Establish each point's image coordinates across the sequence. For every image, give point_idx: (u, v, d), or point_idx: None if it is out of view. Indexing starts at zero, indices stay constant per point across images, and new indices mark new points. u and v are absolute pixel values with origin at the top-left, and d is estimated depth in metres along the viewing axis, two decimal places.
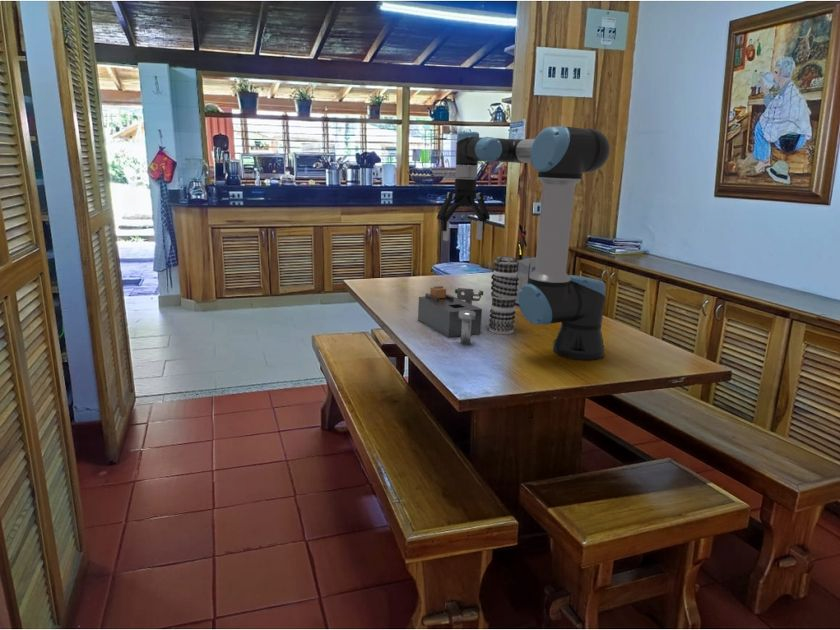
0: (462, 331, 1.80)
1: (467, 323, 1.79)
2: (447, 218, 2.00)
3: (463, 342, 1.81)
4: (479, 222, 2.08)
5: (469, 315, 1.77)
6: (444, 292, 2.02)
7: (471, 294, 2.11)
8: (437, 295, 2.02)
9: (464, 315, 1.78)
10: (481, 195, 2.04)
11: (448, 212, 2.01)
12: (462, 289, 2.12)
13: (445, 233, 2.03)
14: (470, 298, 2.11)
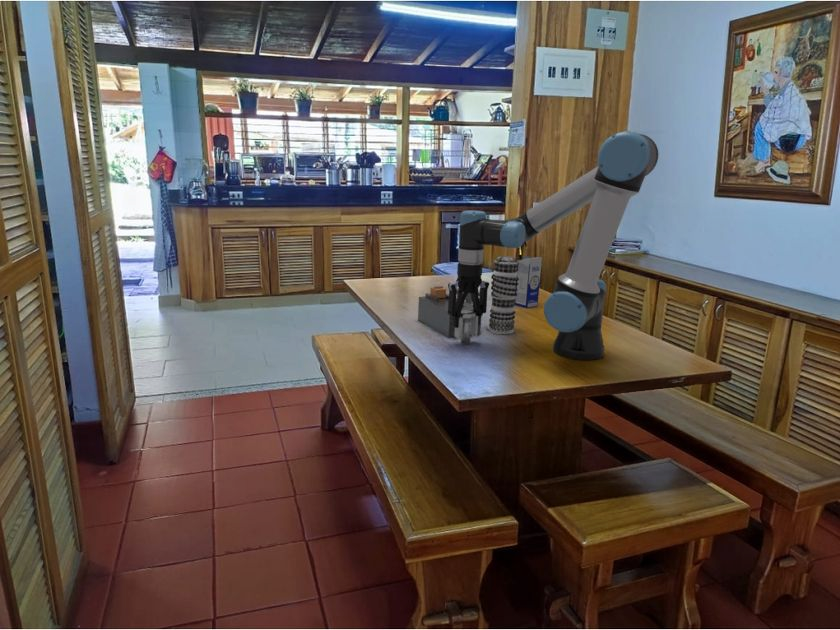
0: (462, 331, 1.80)
1: (467, 323, 1.79)
2: (459, 313, 1.77)
3: (463, 342, 1.81)
4: None
5: (469, 315, 1.77)
6: (444, 292, 2.02)
7: None
8: (437, 295, 2.02)
9: (464, 315, 1.78)
10: (486, 284, 1.79)
11: (457, 306, 1.77)
12: None
13: (457, 330, 1.79)
14: (470, 298, 2.11)
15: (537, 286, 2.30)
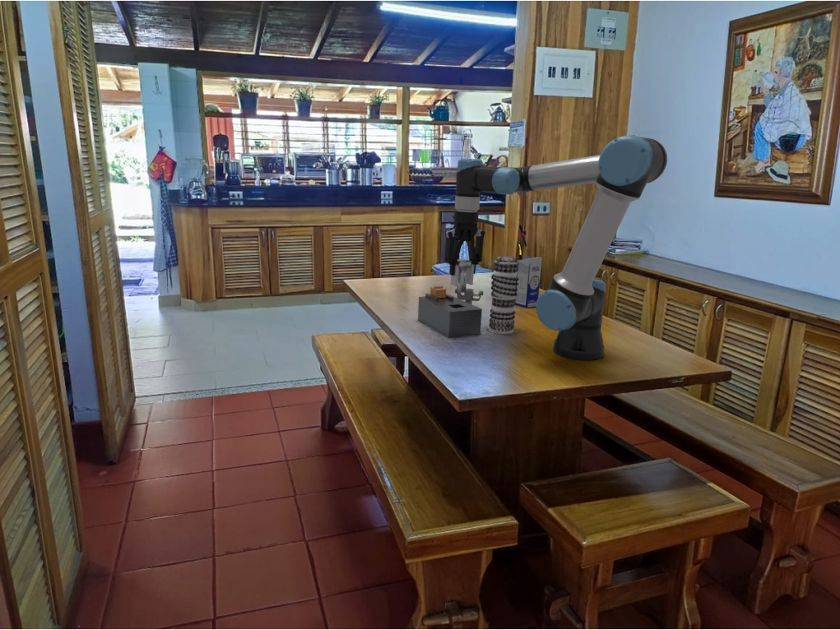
0: (458, 279, 1.83)
1: (463, 271, 1.82)
2: (455, 261, 1.80)
3: (459, 290, 1.84)
4: None
5: (465, 263, 1.80)
6: (444, 292, 2.02)
7: (471, 294, 2.11)
8: (437, 295, 2.02)
9: (460, 263, 1.80)
10: (482, 233, 1.82)
11: (454, 254, 1.80)
12: None
13: (453, 277, 1.82)
14: (470, 298, 2.11)
15: (537, 286, 2.30)
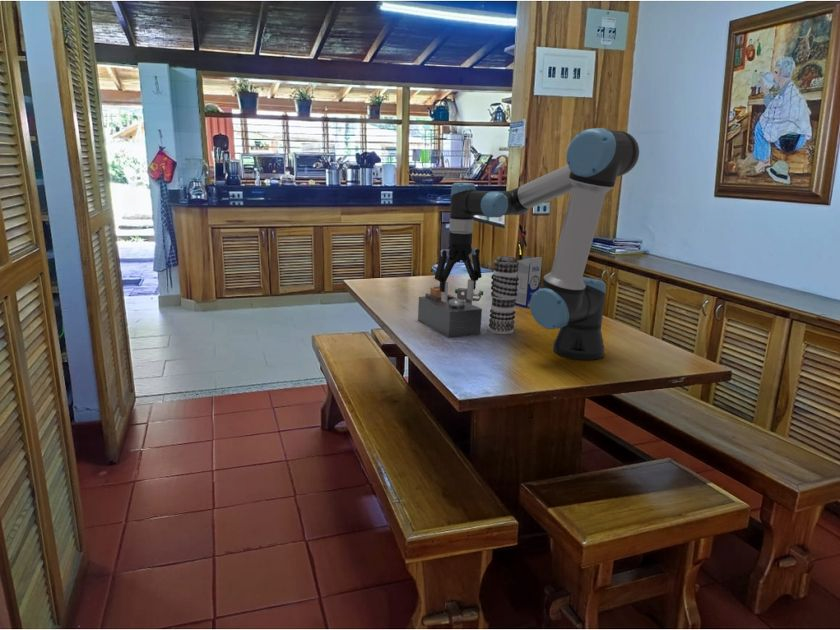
0: None
1: None
2: (445, 278, 1.87)
3: None
4: (470, 281, 1.93)
5: (459, 303, 1.90)
6: None
7: None
8: (437, 295, 2.02)
9: (454, 303, 1.90)
10: (477, 251, 1.90)
11: (445, 271, 1.87)
12: (462, 289, 2.12)
13: (443, 294, 1.89)
14: None
15: (537, 286, 2.30)
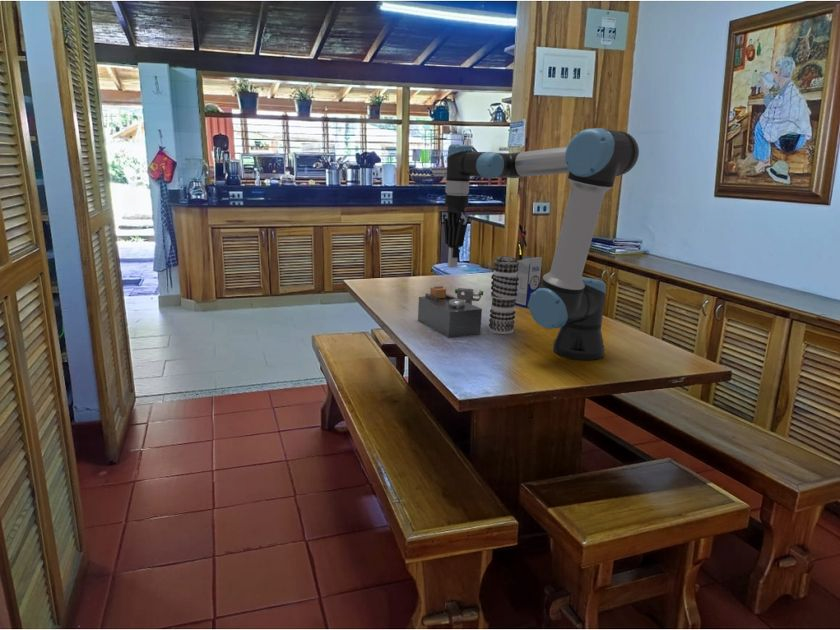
0: None
1: None
2: (448, 242, 1.91)
3: None
4: None
5: (459, 303, 1.90)
6: (444, 292, 2.02)
7: (471, 294, 2.11)
8: (437, 295, 2.02)
9: (454, 303, 1.90)
10: (461, 220, 1.84)
11: None
12: (462, 289, 2.12)
13: None
14: (470, 298, 2.11)
15: (537, 286, 2.30)
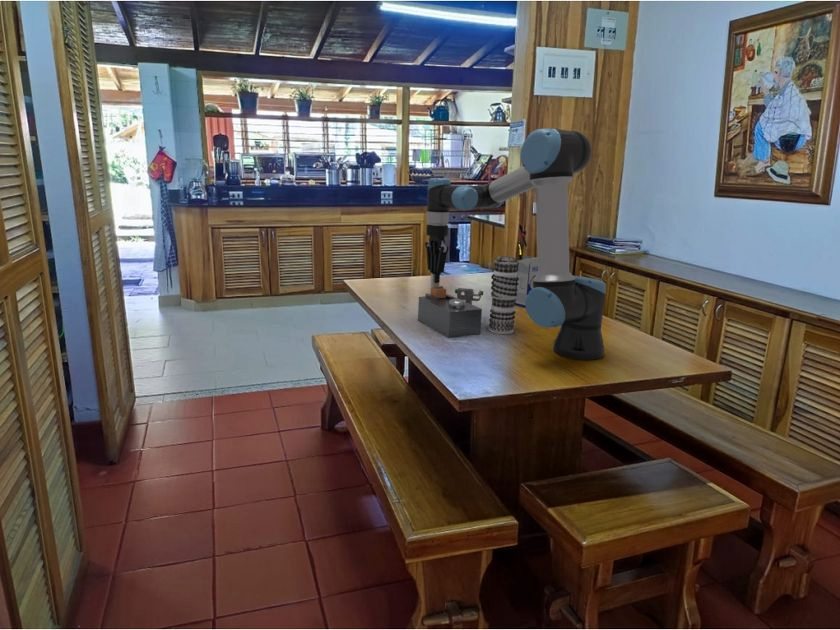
0: None
1: None
2: (430, 268, 2.05)
3: None
4: None
5: (459, 303, 1.90)
6: (444, 292, 2.02)
7: (471, 294, 2.11)
8: (437, 295, 2.01)
9: (454, 303, 1.90)
10: (441, 248, 1.97)
11: None
12: (462, 289, 2.12)
13: None
14: (470, 298, 2.11)
15: None
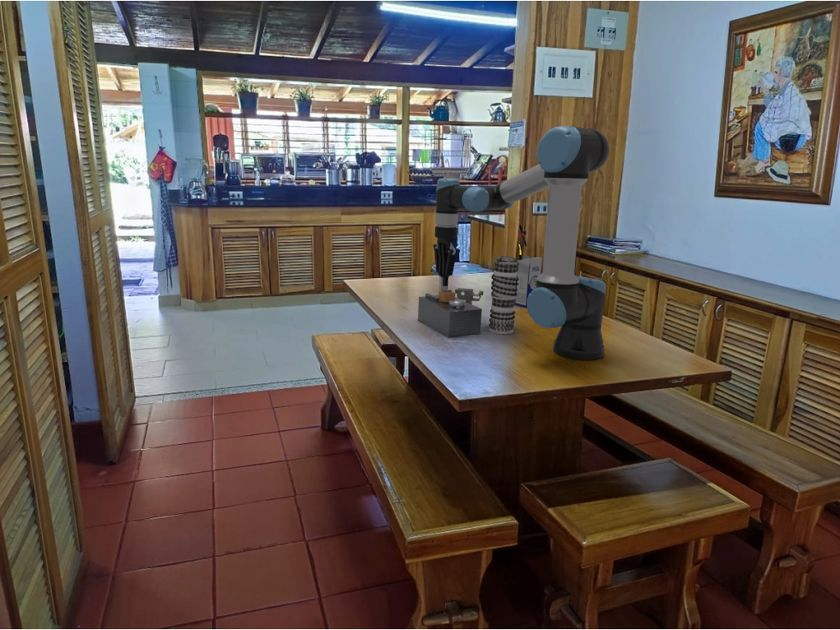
0: None
1: None
2: (439, 271, 1.99)
3: None
4: None
5: (459, 303, 1.90)
6: (453, 296, 1.97)
7: (471, 294, 2.11)
8: (446, 299, 1.96)
9: (454, 303, 1.90)
10: (450, 251, 1.92)
11: None
12: (462, 289, 2.12)
13: None
14: (470, 298, 2.11)
15: None
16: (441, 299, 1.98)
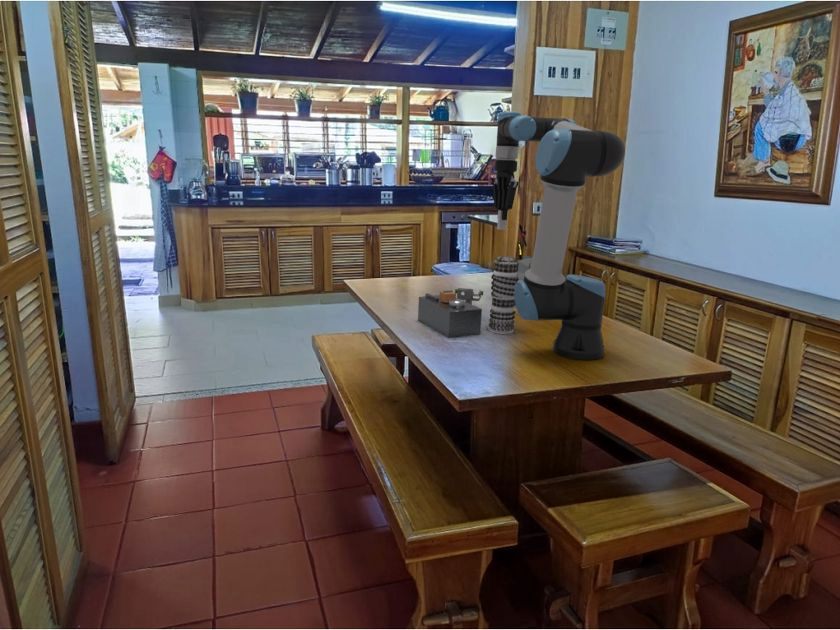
0: None
1: None
2: (498, 206, 2.03)
3: None
4: None
5: (459, 303, 1.90)
6: (454, 296, 1.97)
7: (471, 294, 2.11)
8: (447, 299, 1.96)
9: (454, 303, 1.90)
10: (511, 183, 1.95)
11: None
12: (462, 289, 2.12)
13: None
14: (470, 298, 2.11)
15: None
16: (442, 299, 1.97)
